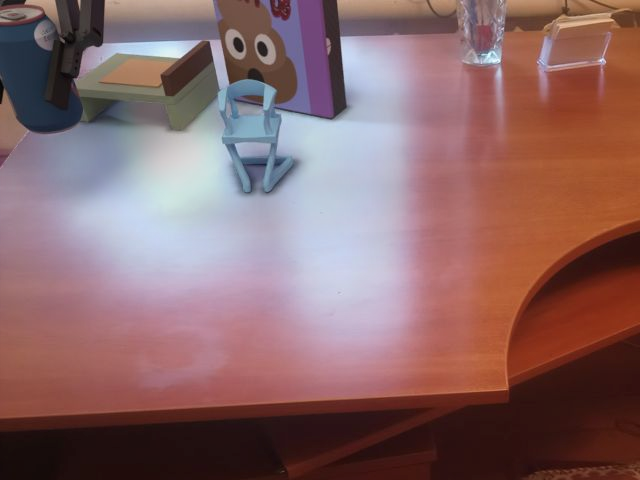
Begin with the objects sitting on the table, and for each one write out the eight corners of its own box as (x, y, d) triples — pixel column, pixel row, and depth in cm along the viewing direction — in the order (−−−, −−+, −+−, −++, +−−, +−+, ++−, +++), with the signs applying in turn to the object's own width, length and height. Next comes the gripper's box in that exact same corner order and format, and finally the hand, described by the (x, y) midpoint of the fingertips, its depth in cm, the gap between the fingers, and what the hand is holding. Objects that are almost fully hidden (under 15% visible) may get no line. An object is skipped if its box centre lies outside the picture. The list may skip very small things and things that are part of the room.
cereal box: (232, 100, 113) (198, -75, 97) (249, 88, 116) (219, -82, 100) (331, 119, 109) (312, -61, 93) (346, 107, 112) (330, -68, 96)
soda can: (100, 119, 84) (64, 10, 76) (47, 142, 79) (3, 28, 71) (60, 105, 86) (22, -2, 78) (7, 127, 82) (-40, 15, 74)
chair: (226, 193, 92) (205, 101, 84) (236, 162, 98) (218, 73, 90) (287, 192, 92) (273, 100, 84) (294, 161, 98) (281, 73, 90)
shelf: (78, 121, 106) (59, 66, 101) (125, 84, 117) (110, 32, 111) (182, 130, 105) (168, 75, 99) (220, 92, 115) (209, 40, 110)
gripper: (159, -75, 81) (129, 123, 80) (-5, -87, 83) (-37, 107, 82) (123, -123, 74) (88, 96, 73) (-57, -135, 76) (-93, 78, 75)
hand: (22, 101), depth 77 cm, fingers closed on soda can, 7 cm apart
